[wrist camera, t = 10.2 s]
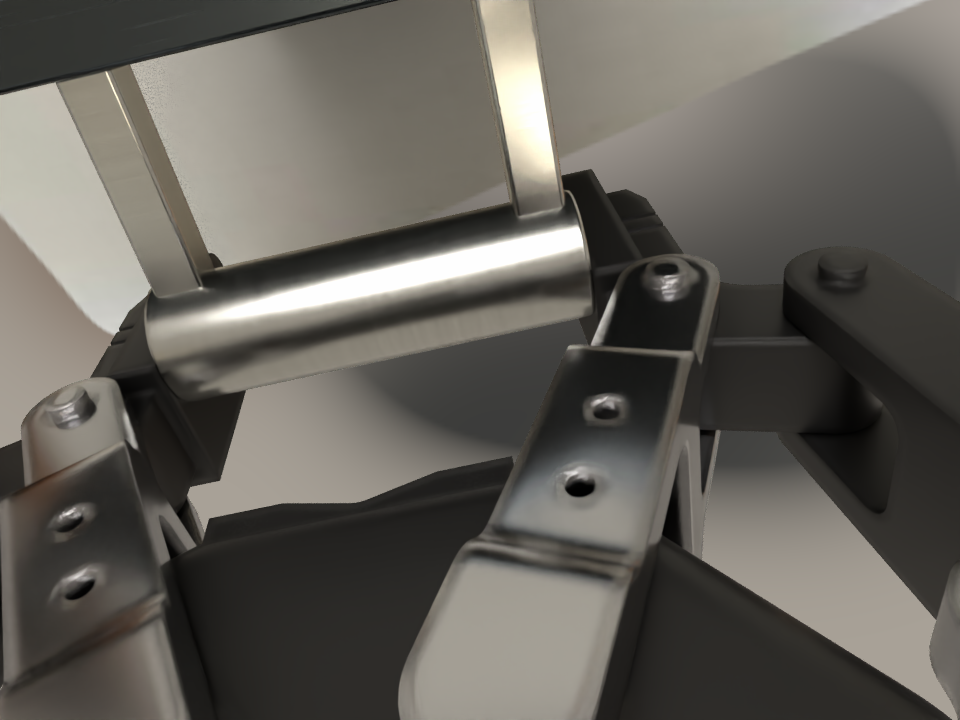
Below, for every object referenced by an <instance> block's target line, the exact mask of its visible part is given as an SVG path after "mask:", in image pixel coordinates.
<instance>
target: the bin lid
mask: <svg viewBox="0 0 960 720" xmlns="http://www.w3.org/2000/svg"><path fill="white" fill-rule="evenodd" d="M393 1H397V0H0V95H4V94H8V93H12V92H16V91H20V90H25V89H29V88H33V87H37V86H41V85H46V84H50V83H54V82H56V85H57V87H58V89H59V91H60V93H61V96H62V98H63V100H64V102H65V104H66V106H67V108H68V111H69V113H70V115H71V117H72V119H73V121H74V123H75V125H76V128H77V130H78V132H79V134H80V136H81V138H82V140H83V143H84V145H85V147H86V149H87V151H88V153H89V155H90V158H91V160H92V162H93V164H94V166H95V168H96V170H97V173H98V175H99V177H100V179H101V181H102V183H103V185H104V188H105V190H106V192H107V194H108V196H109V198H110V200H111V203H112V205H113V207H114V209H115V211H116V213H117V215H118V218H119V220H120V222H121V224H122V226H123V228H124V230H125V233H126V235H127V237H128V239H129V241H130V243H131V245H132V248H133V250H134V252H135V254H136V256H137V258H138V260H139V263H140V265H141V267H142V269H143V271H144V273H145V275H146V278H147V280H148V282H149V284H150V286H151V289H150V290H149V292H148V295H147V298H146V302H145V310H144V323H145V332H146V338H147V342H148V347H149V350H150V353H151V357H152V359H153V362H154V364H155V366H156V369H157V371H158V373H159V375H160V377H161V378H162V380H163V381H164V383H165V385H166V386H167V387H168V388H169V390H170V391H171V392H172V393H173V394H174V395H176V396H177V397H178V398H180V399H182V400H185V401H198V400H202V399H207V398H211V397H216V396H221V395H225V394H230V393H235V392H239V391H244V390H248V389H253V388H258V387H262V386H267V385H271V384H276V383H281V382H285V381H290V380H294V379H299V378H304V377H309V376H313V375H317V374H322V373H327V372H332V371H336V370H341V369H346V368H350V367H354V366H359V365H363V364H369V363H373V362H378V361H383V360H387V359H392V358H396V357H401V356H405V355H410V354H415V353H419V352H424V351H429V350H433V349H437V348H442V347H447V346H452V345H456V344H461V343H466V342H470V341H475V340H480V339H484V338H489V337H494V336H498V335H503V334H507V333H512V332H516V331H521V330H526V329H530V328H535V327H540V326H544V325H549V324H554V323H558V322H563V321H568V320H571V319H576V318H581V317H586V316H590V315H592V314H593V313H594V311H595V290H594V281H593V274H592V262H591V257H590V251H589V247H588V242H587V237H586V233H585V229H584V225H583V221H582V218H581V215H580V211H579V208H578V205H577V203H576V200H575V198H574V196H573V195H572V193H571V192H570V191H569V190H564V189H563V183H562V177H561V170H560V164H559V157H558V151H557V145H556V138H555V132H554V125H553V119H552V113H551V106H550V100H549V94H548V87H547V81H546V74H545V68H544V62H543V55H542V49H541V42H540V36H539V30H538V23H537V17H536V11H535V4H534V0H471V4H472V10H473V15H474V20H475V25H476V30H477V35H478V40H479V45H480V51H481V56H482V61H483V66H484V71H485V76H486V81H487V87H488V92H489V97H490V102H491V107H492V112H493V117H494V123H495V128H496V133H497V138H498V143H499V148H500V153H501V159H502V164H503V169H504V174H505V179H506V184H507V189H508V194H509V199H510V202H508V203H504V204H499V205H495V206H490V207H486V208H481V209H477V210H473V211H468V212H464V213H459V214H455V215H450V216H446V217H441V218H437V219H432V220H428V221H423V222H419V223H415V224H410V225H406V226H401V227H397V228H392V229H388V230H383V231H379V232H374V233H370V234H366V235H361V236H357V237H352V238H348V239H343V240H339V241H334V242H330V243H326V244H321V245H317V246H312V247H308V248H303V249H299V250H294V251H290V252H285V253H281V254H277V255H272V256H268V257H263V258H259V259H254V260H250V261H245V262H241V263H236V264H232V265H228V266H223V267H219V268H214V266H213V263H212V261H211V259H210V256H209V254H208V251H207V249H206V247H205V244H204V242H203V239H202V237H201V235H200V232H199V230H198V227H197V225H196V223H195V220H194V218H193V215H192V213H191V210H190V208H189V206H188V203H187V201H186V198H185V196H184V194H183V191H182V189H181V186H180V184H179V182H178V179H177V177H176V174H175V172H174V170H173V167H172V165H171V162H170V160H169V158H168V155H167V153H166V150H165V148H164V145H163V143H162V141H161V138H160V136H159V133H158V131H157V129H156V126H155V124H154V121H153V119H152V117H151V114H150V112H149V109H148V107H147V105H146V102H145V100H144V97H143V95H142V92H141V90H140V88H139V85H138V83H137V80H136V78H135V76H134V73H133V71H132V68H131V66H130V64H133V63H138V62H142V61H146V60H150V59H154V58H158V57H163V56H167V55H171V54H175V53H179V52H184V51H188V50H192V49H196V48H200V47H204V46H209V45H213V44H217V43H221V42H225V41H230V40H234V39H238V38H242V37H246V36H250V35H255V34H259V33H263V32H267V31H271V30H276V29H280V28H284V27H288V26H292V25H296V24H301V23H305V22H309V21H313V20H317V19H322V18H326V17H330V16H334V15H338V14H342V13H347V12H351V11H355V10H359V9H363V8H368V7H372V6H376V5H380V4H384V3H388V2H393Z"/></svg>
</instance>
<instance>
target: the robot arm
mask: <svg viewBox="0 0 960 720" xmlns="http://www.w3.org/2000/svg"><path fill="white" fill-rule="evenodd" d="M561 177H562V183H563V189H564V190H569V191H570V192H571V193H572V195H573V196H574V198H575V200H576V203H577V205H578V208H579V211H580V215H581V218H582V221H583V225H584V229H585V233H586V237H587V242H588V247H589V251H590V257H591V262H592V274H593V281H594V290H595V311H594V313H593V314H592V315H590V316H586V317H581V318H578V319H579V321H580V324H581V326H582V329H583V332H584V335H585V338H586V340H587V343H588V345H582V344H572V345H570V346H569V347H568V348H567V350H566V352H565V354H564V356H563V358H562V360H561V363H560V365H559V367H558V369H557V371H556V374H555V376H554V378H553V380H552V382H551V385H550V387H549V389H548V392H547V393H546V396H545V398H544V400H543V402H542V405H541V407H540V409H539V411H538V413H537V416H536V418H535V420H534V422H533V424H532V427H531V429H530V431H529V434H528V435H527V438H526V440H525V442H524V444H523V446H522V449H521V451H520V453H519V455H518V458H517V460H516V462H515V464H514V463H513V459H512V456H511V457H506V458H501V459H496V460H491V461H487V462H481V463H477V464H472V465H467V466H462V467H457V468H453V469H448V470H443V471H438V472H435V473H432V474H430V475H427V476H425V477H422V478H420V479H417V480H415V481H412V482H410V483H407V484H405V485H402V486H400V487H397V488H395V489H392V490H390V491H387V492H385V493H382V494H380V495H378V496H375V497H373V498H370V499H368V500H365V501H362V502H358V503H327V504H326V503H323V504H322V503H316V504H315V503H314V504H312V503H307V504H306V503H305V504H304V503H303V504H301V503H300V504H299V503H297V504H296V503H295V504H294V503H292V504H291V503H287V504H278V505H273V506H269V507H263V508H258V509H254V510H249V511H244V512H239V513H234V514H229V515H224V516H220V517H215V518H210V519H209V521H208V525H207V528H206V532H204V529H203V527H202V524H201V521H200V519H199V516H198V513H197V511H196V509H195V507H194V506H193V504H192V503H191V501H190V499H189V498H188V496H187V494H188V491H189V488H190V487H192V486H197V485H202V484H206V483H211V482H216V481H220V479H221V475H222V472H223V468H224V465H225V461H226V458H227V454H228V451H229V448H230V444H231V441H232V437H233V434H234V430H235V427H236V423H237V420H238V416H239V413H240V409H241V405H242V402H243V399H244V395H245V392H246V390H244V391H239V392H235V393H230V394H225V395H221V396H216V397H211V398H207V399H202V400H198V401H185V400H182V399H180V398H178V397H177V396H176V395H174V394H173V393H172V392H171V391H170V390H169V388H168V387H167V386H166V385H165V383H164V381H163V380H162V378H161V377H160V375H159V373H158V371H157V369H156V366H155V364H154V362H153V359H152V357H151V353H150V350H149V347H148V342H147V338H146V332H145V323H144V310H145V302H146V298H147V296H146V297H145V298H144V299H143V300H142V301H141V302H139V303H138V304H137V305H136V306H135V307H134V308H133V309H131V310H130V311H129V312H128V314H127V316H126V318H125V319H124V321H123V323H122V324H121V326H120V328H119V331H120V332H117V333H116V335H115V336H114V338H113V340H112V342H111V346H109V347H108V348H107V350H106V352H105V353H104V355H103V357H102V358H101V360H100V362H99V364H98V365H97V367H96V369H95V370H94V372H93V374H92V375H91V377H90V378H89V379H85V380H81V381H78V382H75V383H72V384H70V385H67V386H65V387H63V388H61V389H59V390H57V391H55V392H54V393H52V394H50V395H49V396H47V397H46V398H44V399H43V400H42V401H40V402H39V403H38V404H37V405H36V406H35V407H33V408H32V409H31V411H30V412H29V413H28V414H27V415H26V417H25V419H24V421H23V422H22V425H21V437H22V440H20V441H17V442H15V443H12V444H10V445H8V446H5V447H2V448H0V688H1V687H2V688H1V690H0V720H952V719H950V718H949V717H948V716H947V715H946V714H944V713H943V712H942V711H940V710H939V709H938V708H936V707H935V706H933V705H932V704H931V703H929V702H928V701H926V700H925V699H923V698H922V697H920V696H919V695H917V694H916V693H914V692H912V691H911V690H909V689H908V688H906V687H905V686H903V685H901V684H900V683H898V682H897V681H895V680H893V679H892V678H890V677H889V676H887V675H885V674H884V673H882V672H880V671H879V670H877V669H876V668H874V667H872V666H871V665H869V664H868V663H866V662H864V661H863V660H861V659H860V658H858V657H856V656H855V655H853V654H852V653H850V652H848V651H847V650H845V649H844V648H842V647H840V646H839V645H837V644H836V643H834V642H832V641H831V640H829V639H827V638H826V637H824V636H823V635H821V634H819V633H818V632H816V631H815V630H813V629H811V628H810V627H808V626H807V625H805V624H803V623H802V622H800V621H798V620H797V619H795V618H794V617H792V616H791V615H789V614H787V613H786V612H784V611H783V610H781V609H779V608H778V607H776V606H775V605H773V604H771V603H770V602H768V601H767V600H765V599H763V598H762V597H760V596H759V595H757V594H755V593H754V592H752V591H751V590H749V589H747V588H746V587H744V586H742V585H741V584H739V583H737V582H736V581H734V580H733V579H731V578H730V577H728V576H726V575H725V574H723V573H721V572H720V571H718V570H717V569H715V568H713V567H712V566H710V565H709V564H707V563H706V562H704V561H702V551H703V534H704V524H705V516H706V510H707V504H708V499H709V493H710V487H711V481H712V476H713V471H714V465H715V459H716V454H717V448H718V442H719V437H720V431H721V430H729V431H730V430H731V431H761V432H764V431H765V432H777V435H778V437H779V439H780V440H781V442H782V443H783V444H784V446H785V447H786V448H787V449H788V450H789V451H790V453H791V454H793V456H794V457H795V458H796V459H797V461H798V462H799V463H800V464H801V465H802V466H803V467H804V469H805V470H806V471H807V472H808V473H809V474H810V476H811V477H812V478H813V479H814V480H815V481H816V482H817V483H818V484H819V486H820V487H821V488H822V489H823V490H824V492H825V493H826V494H827V495H828V496H829V497H830V498H831V499H832V501H833V502H834V503H835V504H836V505H837V507H838V508H839V509H840V510H841V511H842V512H843V513H844V515H845V516H846V517H847V518H848V519H849V520H850V521H851V523H852V524H853V525H854V526H855V527H856V528H857V529H858V531H859V532H860V533H861V534H862V535H863V536H864V537H865V539H866V540H867V541H868V542H869V543H870V544H871V545H872V546H873V548H874V549H875V550H876V551H877V553H878V554H879V555H880V556H881V557H882V558H883V559H884V561H885V562H886V563H887V564H888V565H889V566H890V567H891V569H892V570H893V571H894V572H895V573H896V574H897V575H898V577H899V578H900V579H901V580H902V581H903V582H904V583H905V585H906V586H907V587H908V588H909V589H910V590H911V592H912V593H913V594H914V595H915V596H916V597H917V599H918V600H919V601H920V602H921V603H922V604H923V605H924V607H925V608H926V609H927V610H928V611H929V612H930V613H931V615H932V616H933V617H934V618H935V619H936V623H935V626H934V630H933V633H932V638H931V641H930V646H929V648H930V660H931V665H932V668H933V670H934V673H935V674H936V677H937V679H938V681H939V682H940V684H941V685H942V687H943V689H944V690H945V692H946V694H947V695H948V697H949V698H950V700H951V702H952V705H953V707H954V709H955V711H956V714H957V718H958V720H960V302H959V301H957V300H955V299H954V298H952V297H951V296H949V295H947V294H946V293H945V292H943V291H941V290H939V289H938V288H937V287H935V286H934V285H932V284H930V283H929V282H927V281H926V280H924V279H923V278H921V277H919V276H918V275H916V274H915V273H913V272H912V271H910V270H908V269H907V268H905V267H904V266H902V265H901V264H899V263H897V262H896V261H894V260H893V259H891V258H889V257H887V256H886V255H883V254H881V253H878V252H875V251H872V250H868V249H863V248H856V247H827V248H819V249H815V250H811V251H808V252H805V253H803V254H801V255H799V256H797V257H795V258H794V259H792V260H791V261H790V262H789V263H788V264H787V266H786V268H785V271H784V284H775V285H774V284H771V285H737V284H729V283H723V282H720V274H719V271H718V269H717V268H716V266H714V265H713V264H712V263H711V262H709V261H707V260H705V259H703V258H700V257H696V256H692V255H686V254H684V253H683V252H682V250H681V249H680V248H679V246H678V245H677V243H676V242H675V240H674V239H673V237H672V236H671V235H670V233H669V231H668V230H667V229H666V227H665V226H663V223H662V221H661V220H660V218H659V217H658V215H656V214H655V211H654V209H653V208H652V206H651V205H650V204H649V202H648V201H647V199H646V198H644V197H642V196H640V195H637V194H635V193H633V192H631V191H629V190H626V189H625V190H621V191H616V192H612V193H607V194H606V193H605V191H604V190H603V188H602V186H601V184H600V183H599V181H598V179H597V177H596V176H595V174H594V172H593V171H592V170H591V169H589V170H584V171H580V172H575V173H571V174H566V175H562V176H561ZM209 256H210V259H211V261H212V263H213V266H214V268H219V267H223V265H222V263H221V261H220V260H219V259H218V257H217V256H216V255H214V254H212V253H209ZM2 685H3V686H2Z"/></svg>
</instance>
